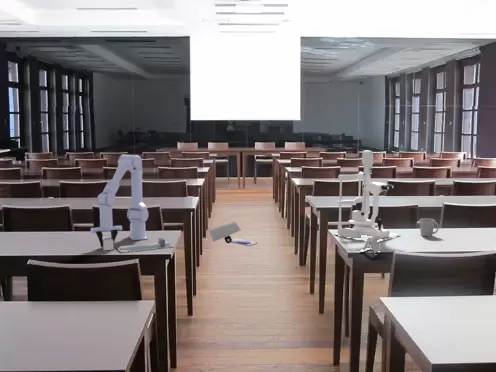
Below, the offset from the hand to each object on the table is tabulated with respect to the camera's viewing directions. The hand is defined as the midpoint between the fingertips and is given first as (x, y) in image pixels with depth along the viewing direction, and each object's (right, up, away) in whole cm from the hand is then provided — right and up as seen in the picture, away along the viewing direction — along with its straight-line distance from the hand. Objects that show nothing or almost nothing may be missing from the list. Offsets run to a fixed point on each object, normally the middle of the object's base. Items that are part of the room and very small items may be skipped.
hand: (107, 246), depth 281 cm
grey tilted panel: (+49, +2, +12) cm, 51 cm away
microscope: (+130, +2, +28) cm, 133 cm away
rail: (+18, -1, +3) cm, 18 cm away
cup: (+162, +2, +28) cm, 165 cm away
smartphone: (+64, 0, +13) cm, 66 cm away
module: (0, -1, 0) cm, 1 cm away
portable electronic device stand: (+125, -3, -6) cm, 125 cm away
